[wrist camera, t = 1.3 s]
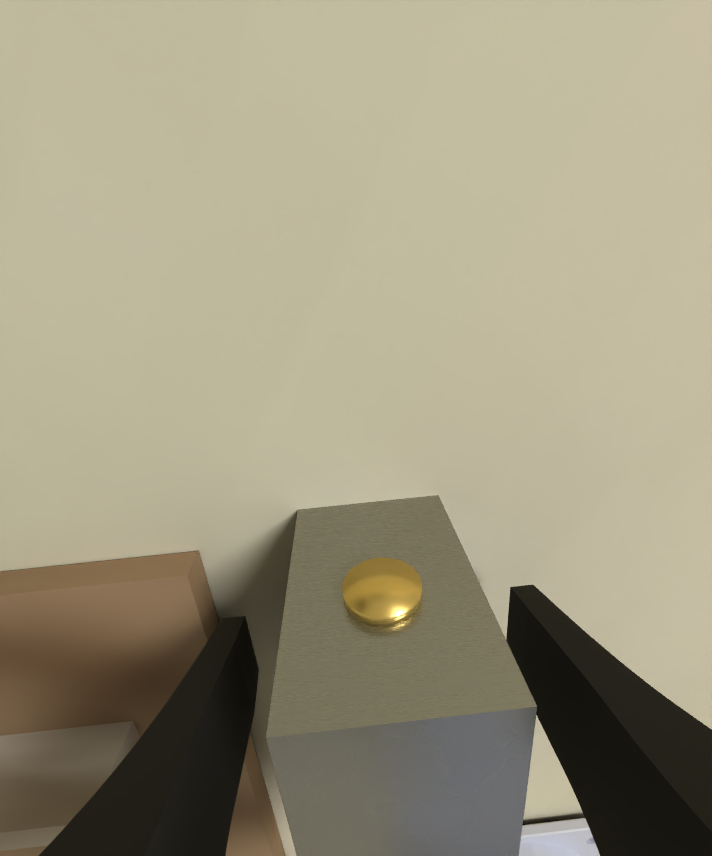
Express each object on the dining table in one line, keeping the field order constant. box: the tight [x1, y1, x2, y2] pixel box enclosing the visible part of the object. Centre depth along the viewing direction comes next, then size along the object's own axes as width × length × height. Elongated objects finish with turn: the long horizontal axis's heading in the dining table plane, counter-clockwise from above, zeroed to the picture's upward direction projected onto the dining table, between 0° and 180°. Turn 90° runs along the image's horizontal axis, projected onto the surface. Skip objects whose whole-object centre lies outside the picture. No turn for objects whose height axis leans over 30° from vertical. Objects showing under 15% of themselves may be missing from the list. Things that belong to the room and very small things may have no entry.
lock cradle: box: [0, 551, 285, 856], centre depth 14 cm, size 20×12×4 cm, turn 5°
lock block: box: [266, 495, 537, 856], centre depth 10 cm, size 6×4×6 cm, turn 5°
